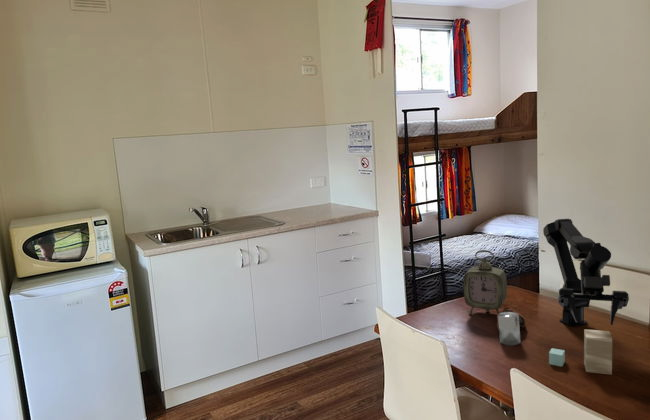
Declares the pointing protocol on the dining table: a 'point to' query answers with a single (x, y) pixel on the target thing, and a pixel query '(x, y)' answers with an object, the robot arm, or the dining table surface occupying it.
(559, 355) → the letter block
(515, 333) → the grey tin
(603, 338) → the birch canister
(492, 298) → the tabletop clock
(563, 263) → the robot arm
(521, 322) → the pottery mug
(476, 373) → the dining table surface
